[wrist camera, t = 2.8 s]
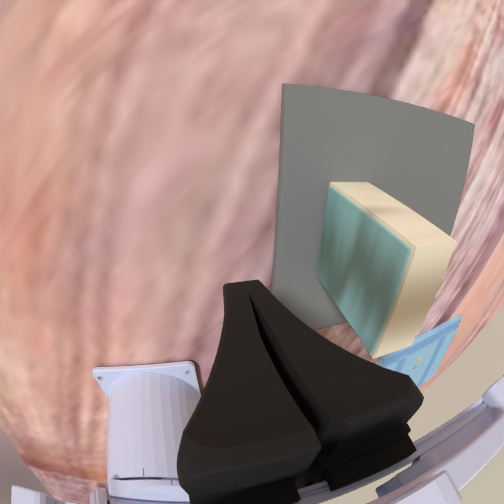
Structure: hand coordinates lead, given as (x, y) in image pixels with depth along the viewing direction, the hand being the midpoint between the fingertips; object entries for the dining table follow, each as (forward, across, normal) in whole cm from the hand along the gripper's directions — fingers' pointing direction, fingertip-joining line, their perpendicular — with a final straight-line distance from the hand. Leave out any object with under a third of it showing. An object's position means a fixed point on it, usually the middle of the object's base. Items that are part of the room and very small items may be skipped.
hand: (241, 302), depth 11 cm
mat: (+5, -10, 0) cm, 12 cm away
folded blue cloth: (+6, -22, +20) cm, 31 cm away
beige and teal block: (+5, -7, 0) cm, 9 cm away
